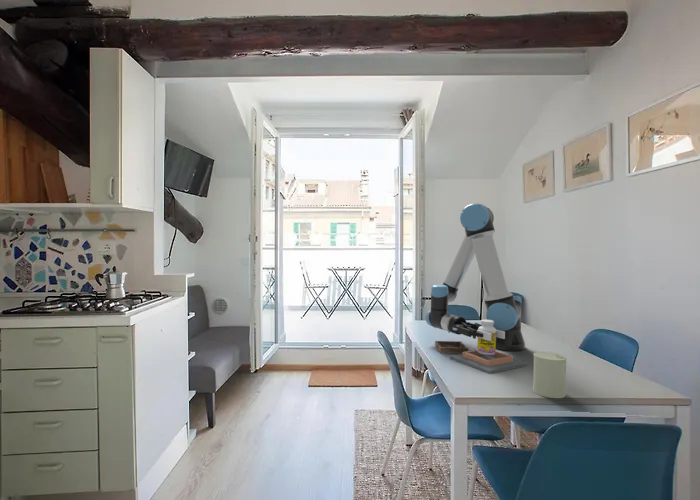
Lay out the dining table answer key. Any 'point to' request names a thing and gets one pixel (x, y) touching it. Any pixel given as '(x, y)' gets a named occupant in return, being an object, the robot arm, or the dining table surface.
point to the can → (549, 374)
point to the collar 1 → (450, 343)
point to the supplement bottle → (485, 345)
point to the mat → (488, 368)
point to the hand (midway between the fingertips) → (497, 336)
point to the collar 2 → (499, 360)
